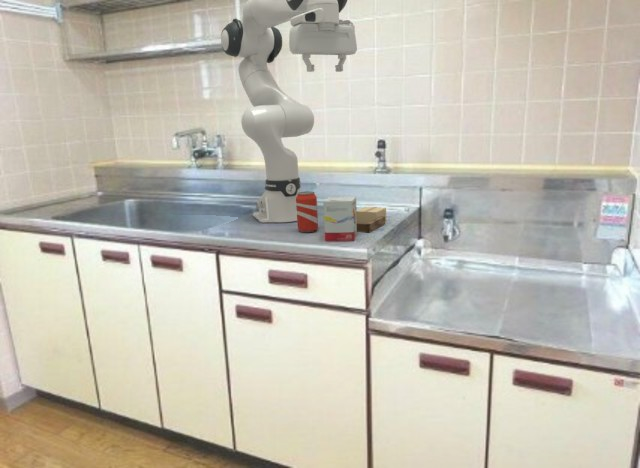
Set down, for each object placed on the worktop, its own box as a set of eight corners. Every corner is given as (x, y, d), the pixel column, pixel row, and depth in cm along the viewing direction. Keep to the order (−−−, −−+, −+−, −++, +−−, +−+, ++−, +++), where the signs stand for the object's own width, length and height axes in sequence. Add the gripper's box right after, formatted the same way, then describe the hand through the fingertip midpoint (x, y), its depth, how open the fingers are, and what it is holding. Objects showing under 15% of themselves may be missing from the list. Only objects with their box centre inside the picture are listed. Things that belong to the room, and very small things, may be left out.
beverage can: (322, 230, 155) (320, 192, 152) (305, 234, 151) (303, 195, 149) (310, 227, 160) (308, 190, 157) (294, 231, 156) (291, 193, 153)
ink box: (354, 241, 140) (352, 199, 137) (324, 241, 142) (322, 200, 139) (358, 234, 148) (356, 194, 145) (329, 234, 150) (327, 195, 147)
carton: (365, 219, 168) (365, 206, 167) (386, 221, 165) (386, 207, 164) (355, 224, 162) (354, 211, 161) (376, 226, 158) (376, 212, 157)
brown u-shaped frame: (351, 221, 165) (351, 214, 164) (385, 224, 159) (385, 216, 158) (334, 230, 155) (333, 222, 154) (369, 232, 149) (369, 224, 148)
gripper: (347, 22, 144) (349, 72, 147) (284, 18, 134) (288, 72, 137) (360, 18, 139) (362, 70, 142) (296, 14, 129) (299, 70, 132)
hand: (325, 71), depth 140 cm, fingers open, 8 cm apart
